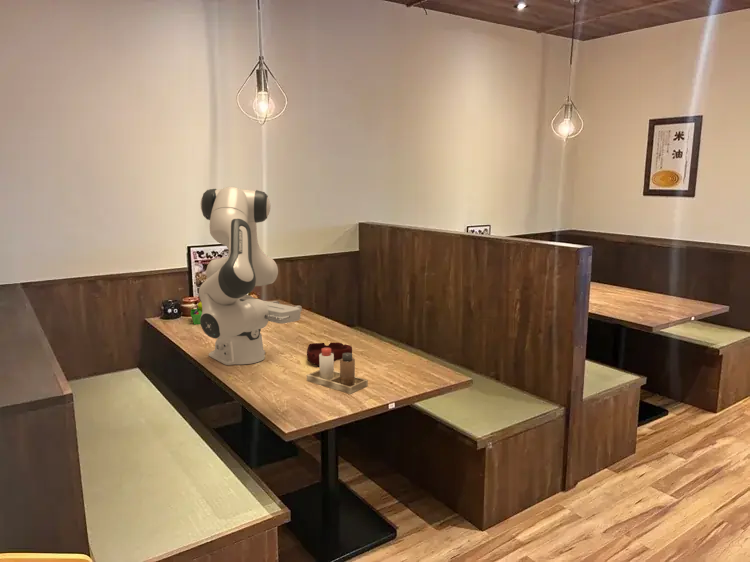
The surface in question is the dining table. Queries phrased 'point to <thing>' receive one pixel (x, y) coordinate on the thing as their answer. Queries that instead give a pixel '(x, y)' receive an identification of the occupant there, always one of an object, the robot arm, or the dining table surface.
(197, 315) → the fruit basket
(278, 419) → the dining table surface
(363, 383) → the caddy
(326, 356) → the white shaker
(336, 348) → the ashtray
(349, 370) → the brown soy bottle
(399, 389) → the dining table surface
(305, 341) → the dining table surface
